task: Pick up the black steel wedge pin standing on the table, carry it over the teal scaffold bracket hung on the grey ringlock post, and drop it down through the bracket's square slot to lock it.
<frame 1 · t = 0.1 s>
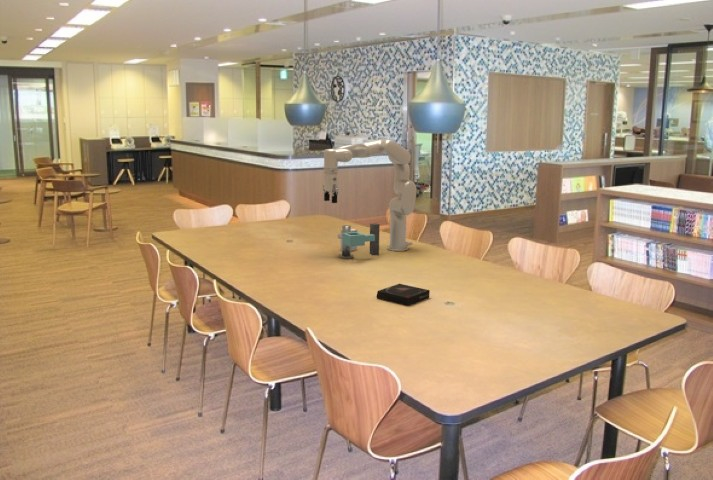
hand: (330, 201, 351), 31 cm above the table, tool pointing down, fingers open, 9 cm apart
supplement box: (348, 250, 373), on the table
portable cd player: (402, 299, 277), on the table
ringlock standard: (346, 241, 352), on the table
steel wedge pin: (374, 254, 362), on the table
scaffold bracket: (359, 238, 346), point 12 cm above the table
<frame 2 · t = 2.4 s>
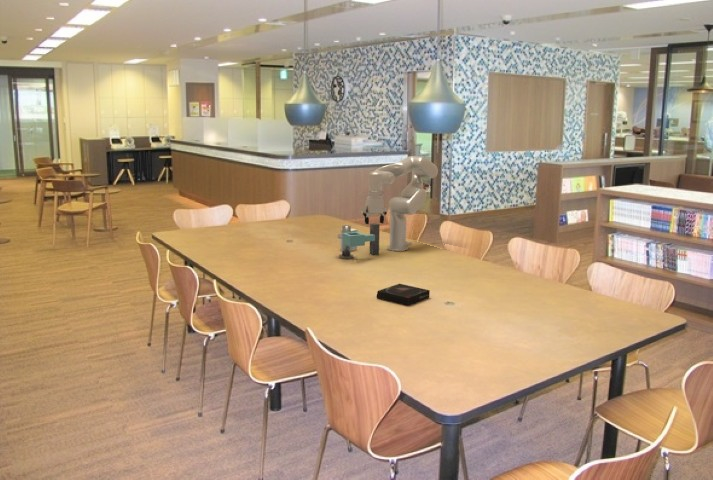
hand: (374, 223, 358), 18 cm above the table, tool pointing down, fingers open, 9 cm apart
nothing on the table moved.
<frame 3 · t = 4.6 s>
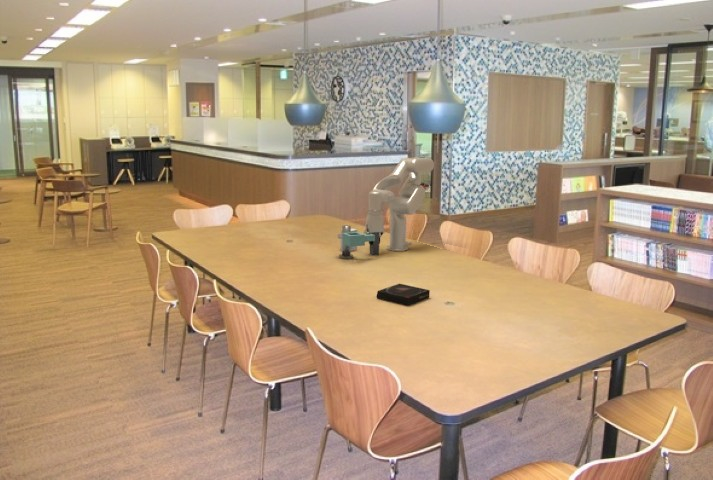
hand: (374, 243, 361), 6 cm above the table, tool pointing down, fingers closed on steel wedge pin, 4 cm apart
steel wedge pin: (374, 254, 362), on the table, touching gripper
everything else where it was.
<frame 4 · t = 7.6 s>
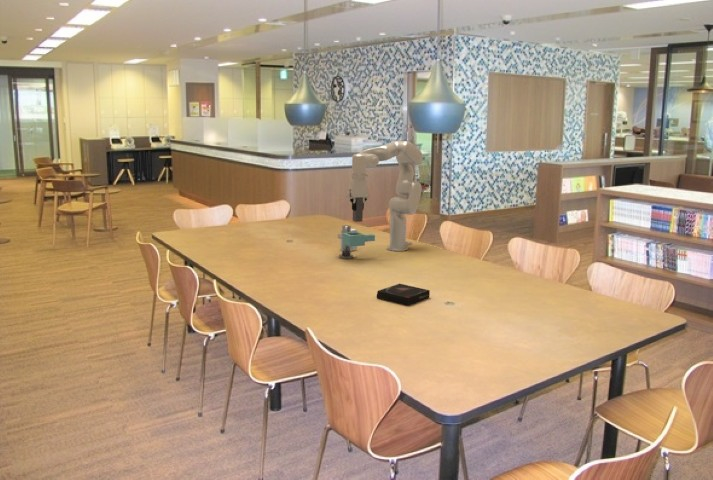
hand: (357, 209, 344), 28 cm above the table, tool pointing down, fingers closed on steel wedge pin, 4 cm apart
steel wedge pin: (357, 221, 345), point 22 cm above the table, touching gripper
everything else where it was.
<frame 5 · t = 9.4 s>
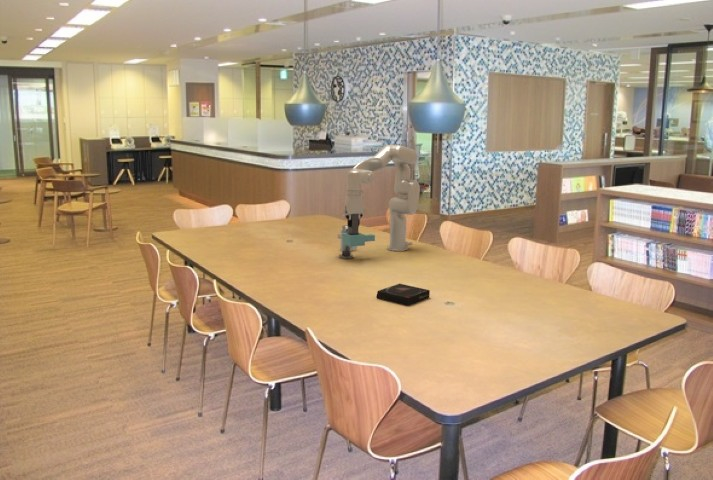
hand: (353, 226, 343), 19 cm above the table, tool pointing down, fingers closed on steel wedge pin, 4 cm apart
steel wedge pin: (353, 237, 344), point 13 cm above the table, touching gripper
everything else where it was.
when the fingers open (16 cm above the table, at t = 10.7 s): steel wedge pin drops 10 cm, on the table.
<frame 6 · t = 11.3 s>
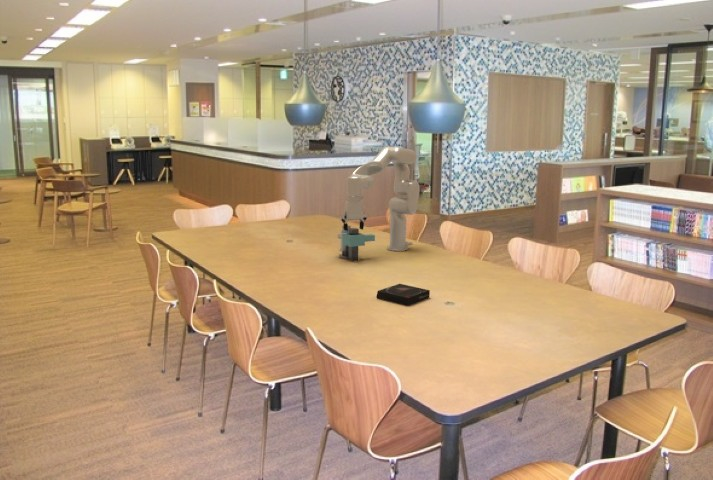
hand: (353, 229, 343), 17 cm above the table, tool pointing down, fingers open, 9 cm apart
steel wedge pin: (353, 260, 347), on the table
everything else where it was.
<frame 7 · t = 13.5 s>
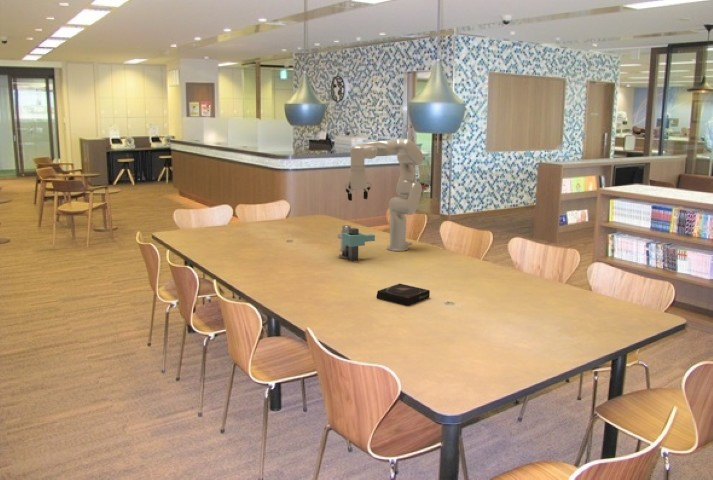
hand: (357, 199, 346), 33 cm above the table, tool pointing down, fingers open, 9 cm apart
nothing on the table moved.
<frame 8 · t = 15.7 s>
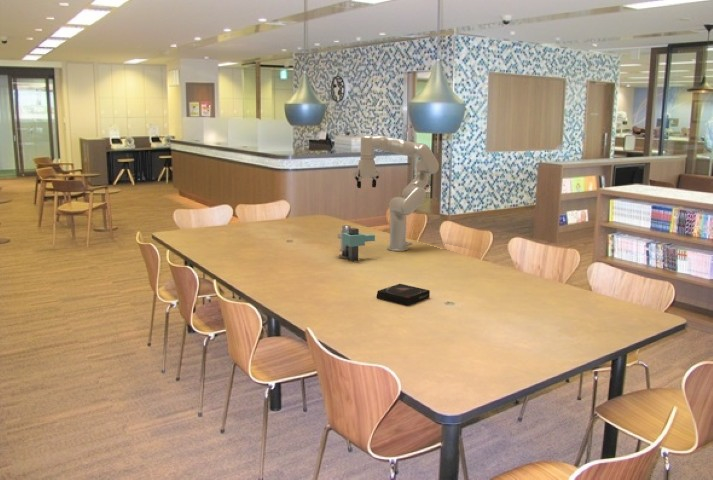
hand: (366, 187, 360), 38 cm above the table, tool pointing down, fingers open, 9 cm apart
nothing on the table moved.
at the end: steel wedge pin 0.1 cm off-centre on the scaffold bracket, point 0.0 cm above the scaffold bracket's base; steel wedge pin tilted 0°; the gripper is holding nothing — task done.
